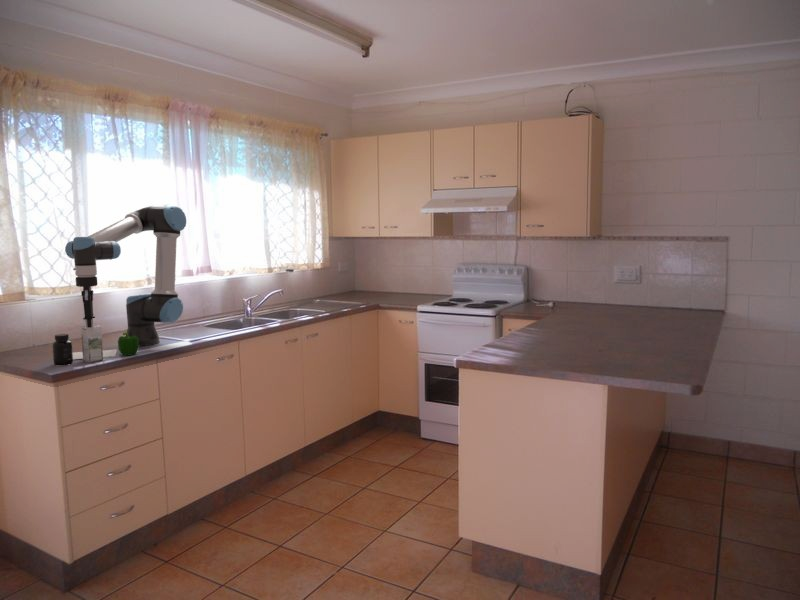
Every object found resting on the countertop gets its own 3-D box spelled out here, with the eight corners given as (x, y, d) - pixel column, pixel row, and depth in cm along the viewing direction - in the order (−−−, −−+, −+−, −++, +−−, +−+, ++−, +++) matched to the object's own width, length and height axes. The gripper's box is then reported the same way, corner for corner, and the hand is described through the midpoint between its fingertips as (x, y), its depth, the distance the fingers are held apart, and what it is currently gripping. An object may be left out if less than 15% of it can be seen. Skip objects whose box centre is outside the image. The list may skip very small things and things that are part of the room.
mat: (117, 350, 268) (117, 349, 268) (115, 357, 254) (115, 356, 254) (71, 353, 261) (71, 352, 261) (67, 360, 247) (66, 359, 247)
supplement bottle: (49, 365, 239) (47, 335, 238) (64, 361, 246) (62, 332, 244) (62, 366, 237) (60, 336, 235) (77, 363, 243) (75, 333, 242)
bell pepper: (132, 351, 265) (130, 329, 263) (143, 354, 260) (141, 331, 259) (113, 355, 258) (112, 332, 256) (124, 357, 253) (123, 334, 252)
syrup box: (97, 358, 252) (94, 324, 250) (103, 360, 248) (101, 325, 246) (82, 360, 247) (80, 325, 245) (89, 362, 243) (87, 327, 242)
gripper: (77, 275, 242) (81, 333, 245) (73, 277, 230) (78, 338, 233) (98, 274, 245) (102, 331, 248) (95, 277, 233) (99, 337, 236)
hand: (90, 335), depth 240 cm, fingers closed
